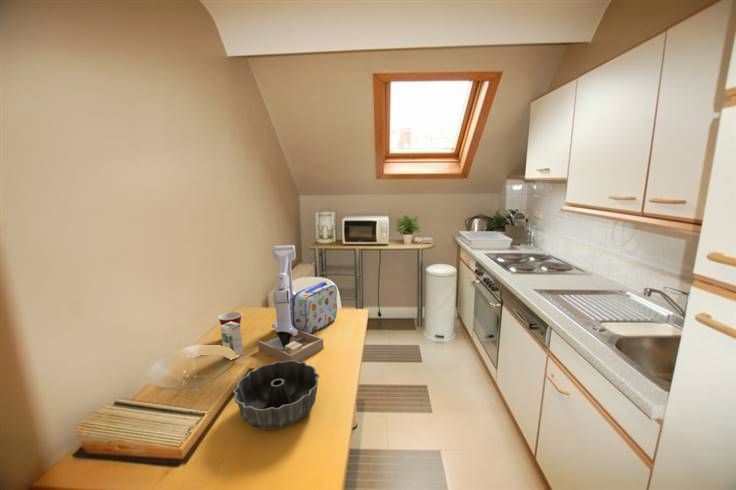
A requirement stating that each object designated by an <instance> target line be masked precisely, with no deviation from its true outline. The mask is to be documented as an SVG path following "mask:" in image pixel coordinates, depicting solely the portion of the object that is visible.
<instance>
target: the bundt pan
mask: <svg viewBox="0 0 736 490" xmlns="http://www.w3.org/2000/svg"><path fill="white" fill-rule="evenodd" d="M316 371H317V370H316V368H315V366H313V365H310V364H307V363H306V362H303V361H300V362H297V361H284V362H281V361H279V360H277V361H275V362H273V363H267V364H264V365H261V366H258V367H257V368H256V369H254V370H251V371H248V372H247V374H246V375H245V376H243V377H241V378H240V379H239V380H238V381H237V382H236V387H235V388H234V389H233V390H232V394H234V397H233V398H234V401H235V403H236V404H237V406H238V409H239V412H240V415H241V417H242V418H243V420H244V421H246V422H248V424H249V425H250V426H251V427H252V428H259V427H260V428H261V429H264V430H272V429H274V428H275V427H276V428H277V429H282V428H284V426H285V425H288V426H289V425H294V424H295V423H297V422H298V421H300V418H306V416H307V415H308V413H309V411H310V410H311V409H312V408H313V406H314V405H315V402H316V396H317V393H318V385H319V378H320V374H319V373H317V372H316Z"/></svg>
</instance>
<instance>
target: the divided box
mask: <svg viewBox="0 0 736 490" xmlns="http://www.w3.org/2000/svg"><path fill="white" fill-rule="evenodd" d="M296 330H298V329H296ZM294 341H295V342H297V343H300V344H302V349H301V350H299V351H297V352H295V353H293V354H292V355H290V354H288V353H286V352H285V348H284V347H283V346H282V343H281V340H280V338H279V337H278V336H276V337H274V338H271V339H269V340H267V341H265V342H264V341H261V340H257V345H258V351H259V352H260V353H263V354H265V355H267V356H269V357H271V358H273V359H275V360H277V361H278V362H284V361H297V362H299V363H300V362H303V361H304V360H306V359H308V358H309V357H311V356H313V355H314V354H317V353H318V352H319V351H321V350H323V349H325V348H324V347H325V346H324V338H323V337H319V336H316V335H314V334H312V333H310V334H309V333H306V332H304V331H301V330H298V334H297V335H295V336H293V334H292V335H291V338H290V342H289V344H290V343H292V342H294Z"/></svg>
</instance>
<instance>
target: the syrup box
mask: <svg viewBox="0 0 736 490" xmlns="http://www.w3.org/2000/svg"><path fill="white" fill-rule="evenodd" d="M220 332H221V341H222V347H223V346H225V347H229V348H231V349H232V350H233V351H234V352H235V354H236V355H241V356H243V355H244V351H243V341H242V340H243V338H242V330H241V323H240V324H238V323H235V322H228V323H226V324H224V325H222V326H221V325H220ZM242 354H243V355H242Z"/></svg>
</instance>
